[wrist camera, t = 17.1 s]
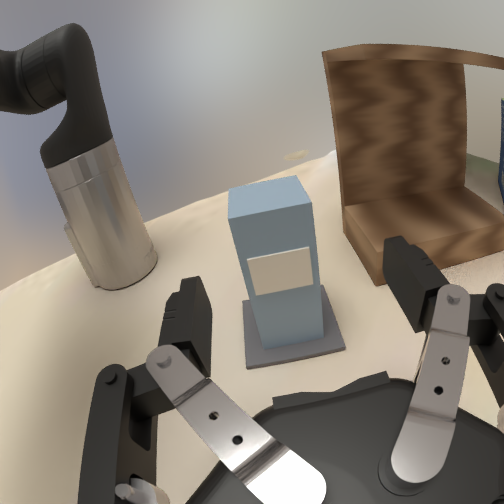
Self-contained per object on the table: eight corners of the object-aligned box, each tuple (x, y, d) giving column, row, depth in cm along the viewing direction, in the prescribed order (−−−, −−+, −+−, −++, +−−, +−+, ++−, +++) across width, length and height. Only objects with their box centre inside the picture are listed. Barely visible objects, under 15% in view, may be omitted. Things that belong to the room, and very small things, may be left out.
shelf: (375, 286, 29) (363, 44, 17) (343, 231, 38) (321, 51, 26) (503, 250, 27) (519, 61, 16) (456, 208, 37) (456, 54, 25)
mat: (247, 369, 24) (246, 366, 24) (243, 303, 31) (242, 300, 30) (345, 349, 23) (345, 346, 23) (323, 287, 30) (323, 284, 30)
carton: (263, 350, 25) (227, 220, 18) (259, 308, 29) (228, 188, 23) (324, 338, 24) (312, 203, 18) (311, 298, 29) (296, 175, 22)
